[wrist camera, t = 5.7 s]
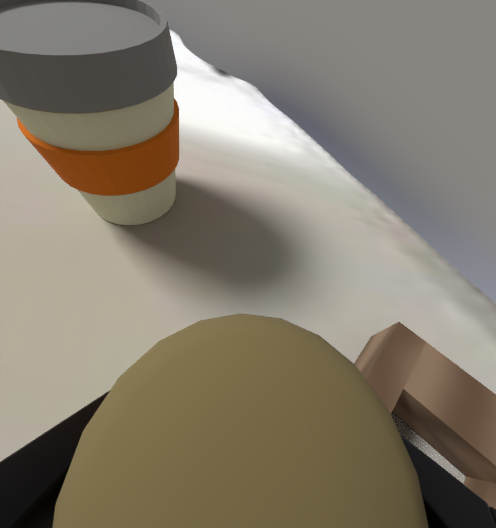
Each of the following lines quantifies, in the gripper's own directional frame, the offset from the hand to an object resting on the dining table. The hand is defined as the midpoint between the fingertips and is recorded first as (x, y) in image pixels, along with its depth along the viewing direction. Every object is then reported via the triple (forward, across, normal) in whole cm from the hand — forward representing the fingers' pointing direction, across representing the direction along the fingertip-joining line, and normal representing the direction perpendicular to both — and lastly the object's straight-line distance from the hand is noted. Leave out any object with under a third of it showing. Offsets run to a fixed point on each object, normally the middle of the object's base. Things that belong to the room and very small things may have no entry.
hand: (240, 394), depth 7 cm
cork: (+4, 0, +6) cm, 7 cm away
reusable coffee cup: (+24, +12, -5) cm, 27 cm away
